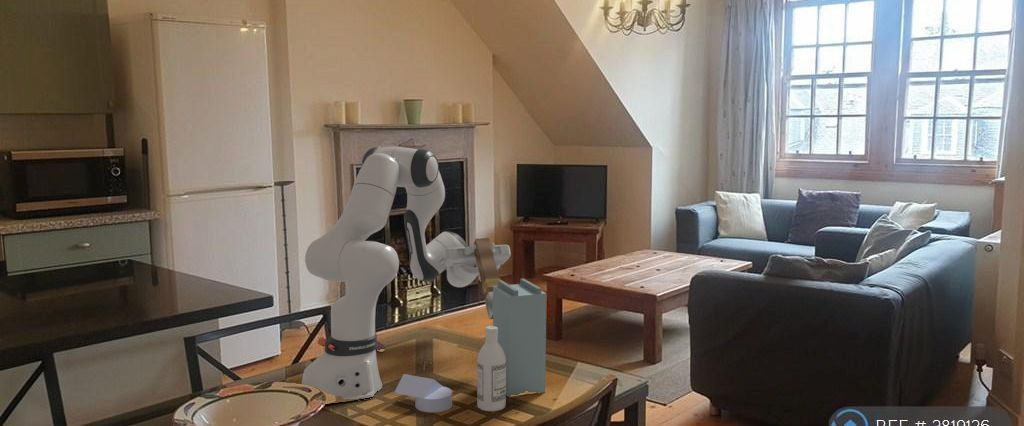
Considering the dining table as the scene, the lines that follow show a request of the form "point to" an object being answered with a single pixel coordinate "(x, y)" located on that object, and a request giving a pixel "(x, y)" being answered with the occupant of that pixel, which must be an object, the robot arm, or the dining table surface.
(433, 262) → the robot arm
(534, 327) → the pale blue tall block
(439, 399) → the wedge on round base
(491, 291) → the patterned long box
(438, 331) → the dining table surface
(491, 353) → the bath foam
